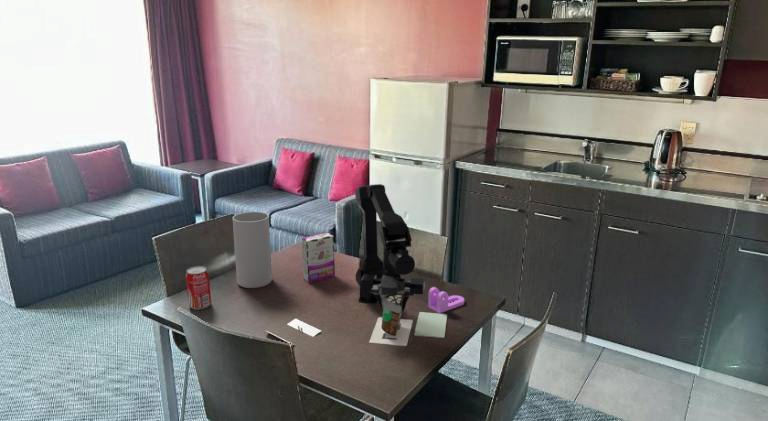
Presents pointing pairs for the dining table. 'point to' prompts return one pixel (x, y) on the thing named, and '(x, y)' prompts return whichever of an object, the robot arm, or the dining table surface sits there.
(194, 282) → the soda can
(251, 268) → the cylinder vase
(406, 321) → the pad
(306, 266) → the candy bar box
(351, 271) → the dining table surface
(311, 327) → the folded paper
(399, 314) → the food container
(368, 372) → the dining table surface
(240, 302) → the dining table surface
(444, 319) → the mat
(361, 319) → the dining table surface
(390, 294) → the robot arm
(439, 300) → the bracket
